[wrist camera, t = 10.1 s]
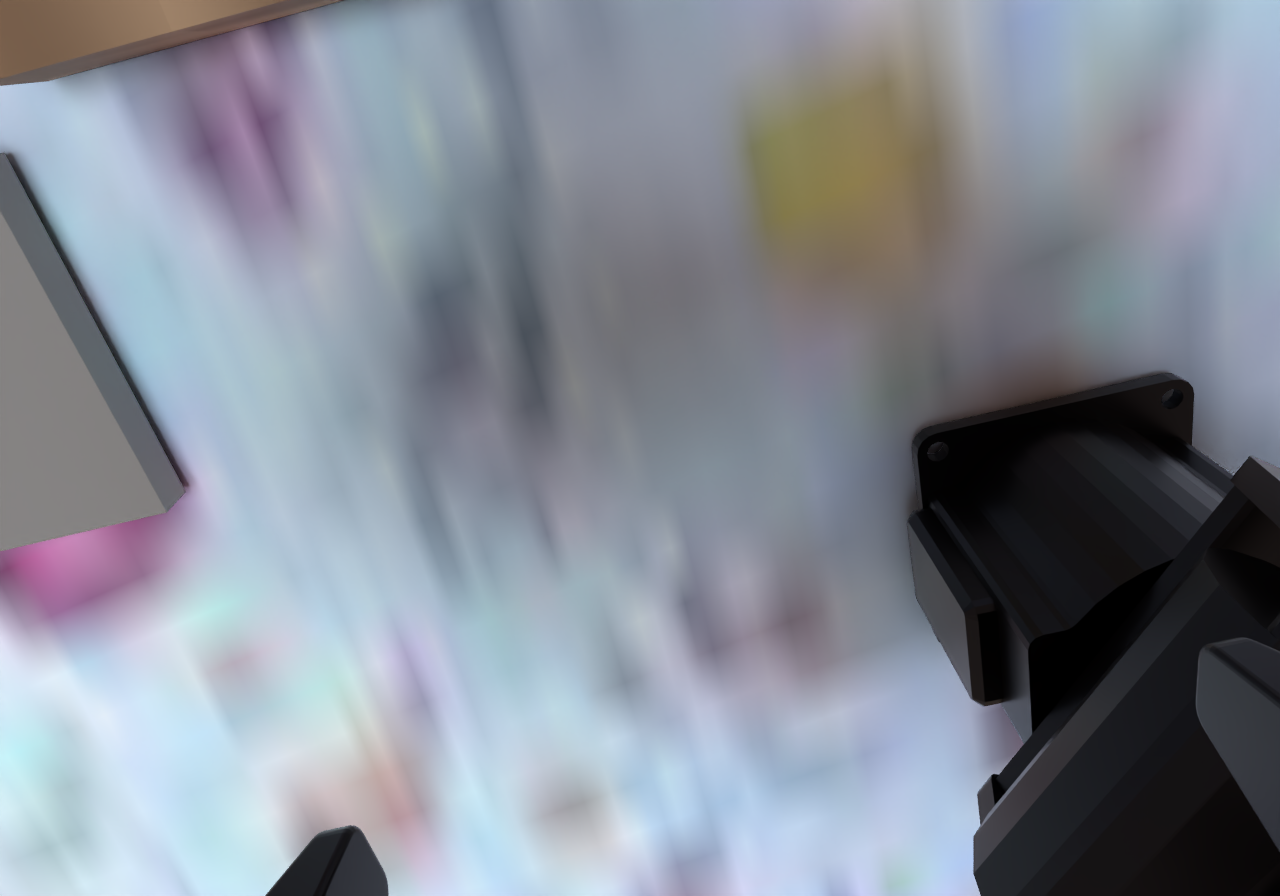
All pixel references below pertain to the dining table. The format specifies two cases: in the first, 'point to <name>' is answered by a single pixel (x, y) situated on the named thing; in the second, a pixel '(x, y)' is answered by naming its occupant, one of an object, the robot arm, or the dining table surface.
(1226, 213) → the dining table surface
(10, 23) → the rack plate
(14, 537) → the grey square plate
